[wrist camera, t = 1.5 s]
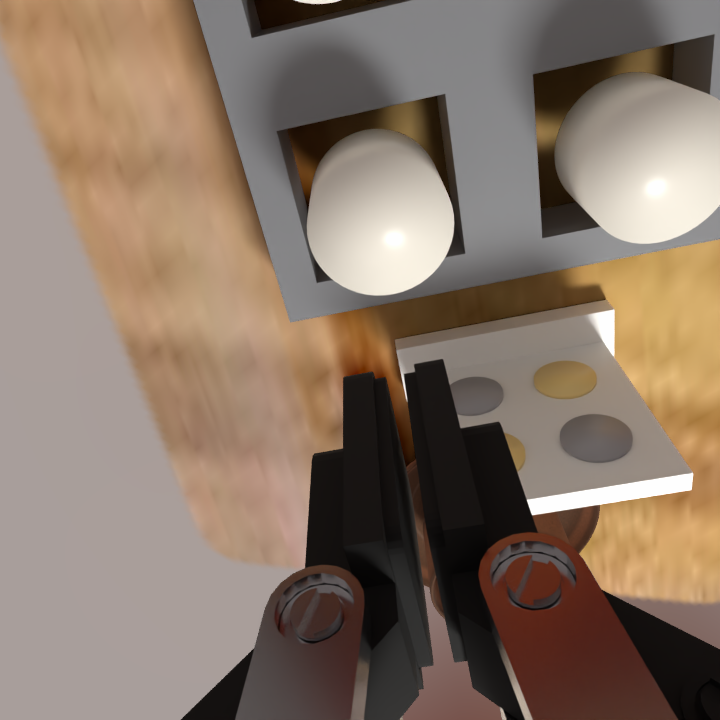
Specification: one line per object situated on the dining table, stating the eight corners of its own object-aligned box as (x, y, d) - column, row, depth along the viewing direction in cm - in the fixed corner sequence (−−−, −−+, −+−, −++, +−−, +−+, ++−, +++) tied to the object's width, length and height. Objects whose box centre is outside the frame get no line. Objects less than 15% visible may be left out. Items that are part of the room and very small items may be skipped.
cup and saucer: (334, 483, 36) (333, 573, 30) (524, 375, 32) (559, 455, 27) (449, 594, 41) (464, 687, 36) (622, 512, 37) (668, 601, 32)
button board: (749, -395, 18) (816, -454, 16) (700, 210, 27) (737, 235, 25) (145, -227, 20) (116, -255, 17) (294, 290, 29) (290, 322, 27)
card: (606, 299, 30) (712, 434, 21) (606, 353, 31) (704, 499, 23) (394, 339, 31) (414, 484, 22) (405, 390, 32) (427, 543, 24)
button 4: (430, 115, 22) (443, 139, 19) (448, 242, 25) (462, 280, 22) (297, 144, 23) (289, 171, 20) (327, 266, 25) (325, 307, 22)
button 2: (694, 57, 22) (751, 73, 19) (685, 195, 24) (733, 228, 21) (551, 88, 22) (583, 108, 19) (556, 220, 24) (586, 256, 21)
